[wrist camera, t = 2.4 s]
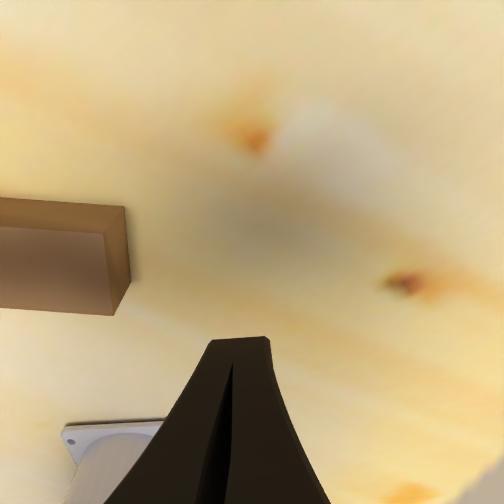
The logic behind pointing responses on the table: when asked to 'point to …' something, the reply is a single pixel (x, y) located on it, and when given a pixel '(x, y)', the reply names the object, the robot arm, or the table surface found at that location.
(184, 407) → the robot arm
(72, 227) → the walnut bar
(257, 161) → the table surface
